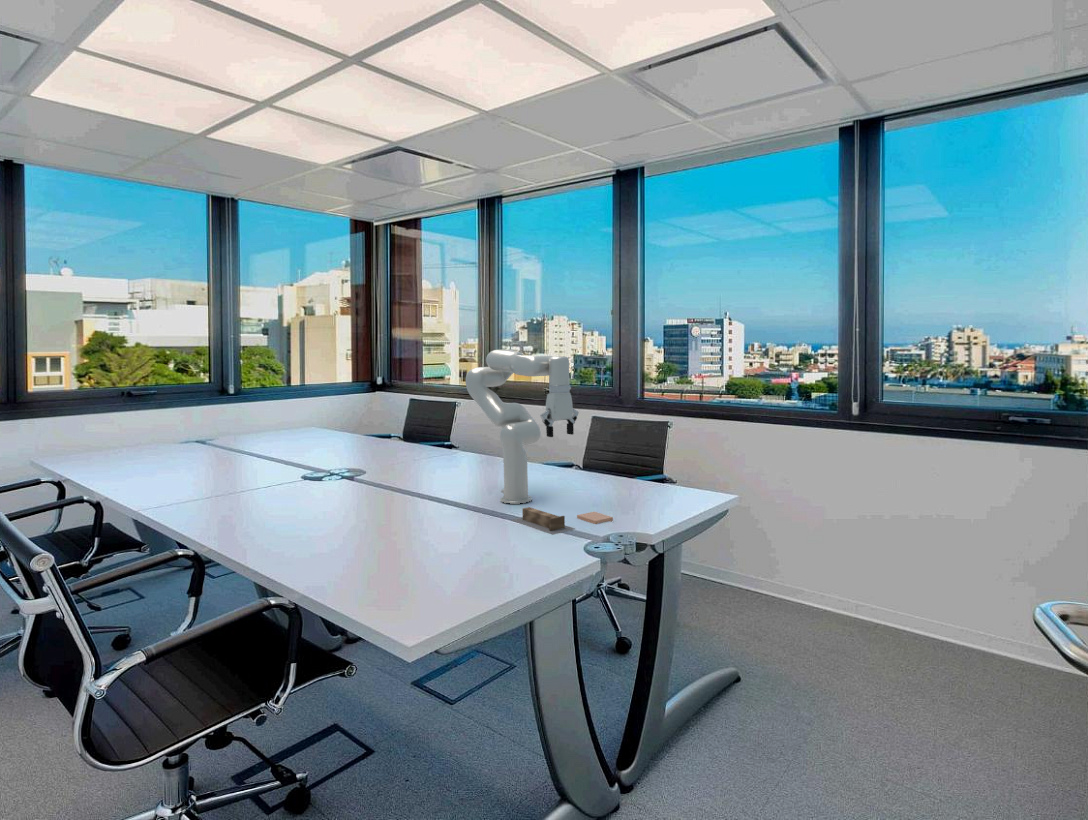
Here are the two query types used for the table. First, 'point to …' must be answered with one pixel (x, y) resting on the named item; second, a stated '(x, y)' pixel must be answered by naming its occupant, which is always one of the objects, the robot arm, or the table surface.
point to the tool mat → (541, 528)
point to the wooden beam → (543, 518)
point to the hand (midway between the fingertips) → (560, 435)
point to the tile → (595, 517)
